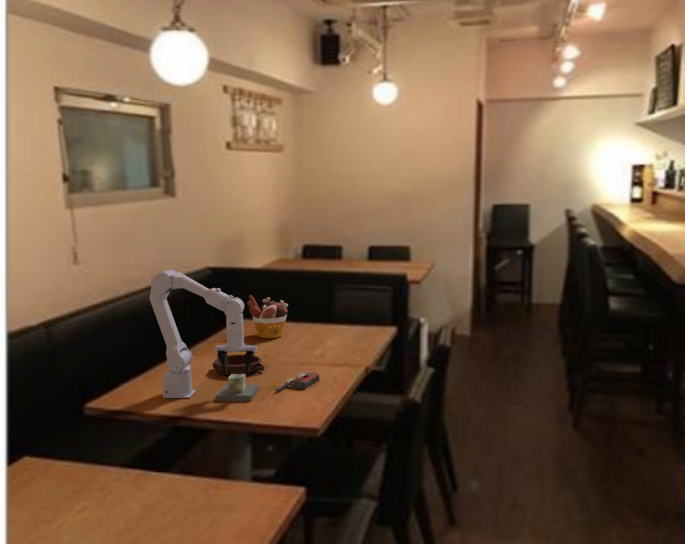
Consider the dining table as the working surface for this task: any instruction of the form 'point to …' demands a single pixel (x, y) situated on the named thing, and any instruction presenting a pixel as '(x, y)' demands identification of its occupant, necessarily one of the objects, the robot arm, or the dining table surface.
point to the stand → (237, 394)
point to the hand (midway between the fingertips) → (236, 372)
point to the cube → (237, 382)
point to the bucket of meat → (268, 317)
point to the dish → (239, 364)
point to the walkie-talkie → (301, 381)
